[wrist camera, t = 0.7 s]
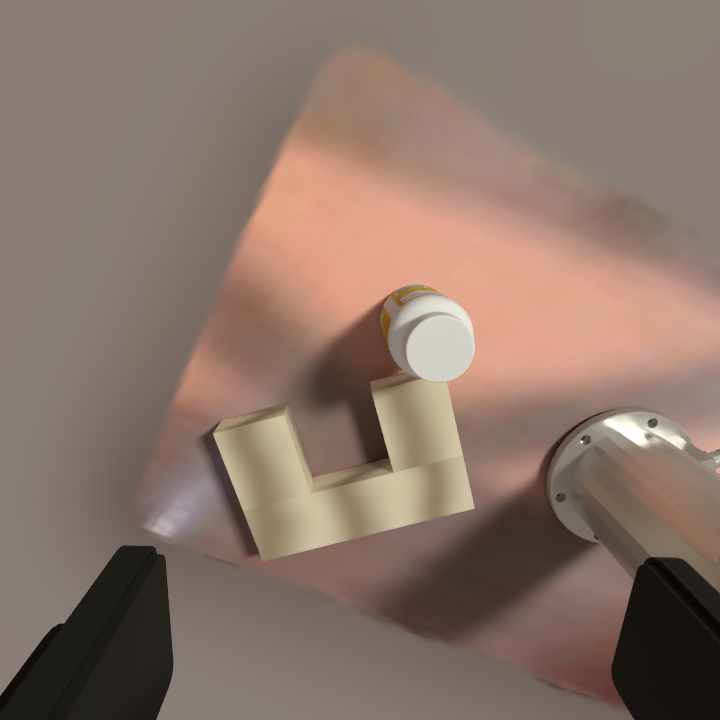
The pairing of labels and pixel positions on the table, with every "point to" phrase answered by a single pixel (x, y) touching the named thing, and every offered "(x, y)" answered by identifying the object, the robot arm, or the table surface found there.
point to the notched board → (347, 472)
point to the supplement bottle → (427, 333)
